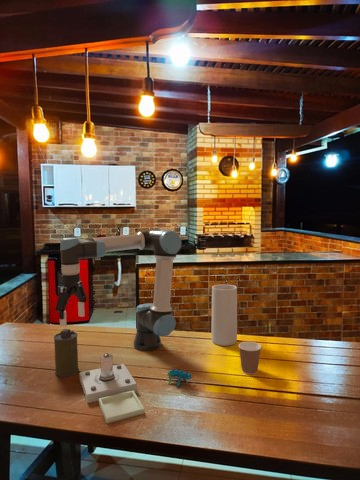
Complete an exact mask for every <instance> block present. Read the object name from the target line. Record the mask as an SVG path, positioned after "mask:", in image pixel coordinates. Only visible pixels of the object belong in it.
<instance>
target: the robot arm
mask: <svg viewBox="0 0 360 480" xmlns="http://www.w3.org/2000/svg"><path fill="white" fill-rule="evenodd" d="M59 247H60V248H59V251H60V263H61V264H60V265H61V274H62V275H61V283H63V285H64V286H63V287H59V288H58V292H59V293H58V297H57V300H56V304H55V308H54V312H58V314H59V315H58V316H59V326H60V327H64V328H65V327H67V311H66V308H67V306H68V305H67V304H68V303H69V300H70V298H71V297H72V296H73V295H74V296H75V298H76V299H77V300H78V302H77V308H78V309H77V311H78V312H77V313H78V315H77V316H78V317H82V318H83V317H85V316H86V315H85V303H86V302H87V300H88V297H87V293H86V291H85V288H84V285H83V281H82V280H81V274H80V271H81V270H80V267H81V266H80V260H83V259H93V258H94V259H96V258H102V257H105V256H106V253H108V252H117V251H125V250H135V249H139V250H140V251H142V250H149V251H153V256H154V258H155V260H156V262H155V271H154V272H155V273H154V275H155V277H154V289H153V291H154V292H153V301H152V302H153V303H152V302H149V303H147V302H146V303H143V304H141V303H140V304H139V305H137V306H136V309H135V311H136V312H135V314H136V323H135V324H136V333H135V336H134V338H133V339H134V340H133V348H135V349H136V350H139V351H153V350H156V349H159V348H160V347H161V346H162V339H161V337H166V336H167V337H168V336H169V335H171V333H172V332H174V330H175V328H176V324H177V323H176V318H175V316H173V308H172V306H170V305H171V295H172V293H171V292H172V280H173V279H172V278H173V268H174V267H173V263H174V260H175V259H176V258H177V253H179V251H180V250H181V249H182V238H181V236H180V235H179V234H178V233H177V231H174V230H171V229H161V228H159V229H158V228H157V229H150V230H144V231H138V232H137V233H133V234H123V235H112V236H103V237H92V238H77V237H64V238H62V239H60V246H59Z"/></svg>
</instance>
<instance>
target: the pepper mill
mask: <svg viewBox="0 0 360 480" xmlns="http://www.w3.org/2000/svg"><path fill="white" fill-rule="evenodd" d="M99 358H100V368H101V375H100V379H101V381H102V382H108V381H112V380H113V378H114V374H113V366H114V365H113V364H114V363H113V361H114V360H113V355H112V353H107V352H106V353H104V354H102V355H100V357H99Z"/></svg>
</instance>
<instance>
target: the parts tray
mask: <svg viewBox="0 0 360 480" xmlns="http://www.w3.org/2000/svg"><path fill="white" fill-rule="evenodd" d="M98 404H99V408H100V410H101V413H102V416H103V418H104V421H105V423H106V425H107V424H112V423H115V422H119V421H123V420H125V419H129V418H133V417H138V416H141V415H144V414H145V406H144V405H143V403H142V402H141V401H140V399H139V397H138V396H137V394H136V392H134V391H129V392H124V393H120V394H116V395H112V396H107V397H103V398H99V401H98Z"/></svg>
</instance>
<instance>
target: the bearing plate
mask: <svg viewBox="0 0 360 480" xmlns="http://www.w3.org/2000/svg"><path fill="white" fill-rule="evenodd" d="M113 374H114V378H113V380H112V381H108V382H102V381H101V379H100V375H101V367H99V368H95V369H91V370H85V371H81V372H79V382H80V385H82V386H81V388H83V389H82V392H83V395H84V394H85V395H84V397H85V400H86V403H87V404H89V403H94V402H99V398H103V397H107V396H112V395H116V394H120V393H124V392H129V391H134V392H135V393H136V392H137V389H138V388H137V387H138V385H137V382H136V381H135V379H134V377H133V375H132V374H131V373H130V371H129V370H128V368H127V366H126V365H125V364H124V363H121V364H116V365H113Z"/></svg>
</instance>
